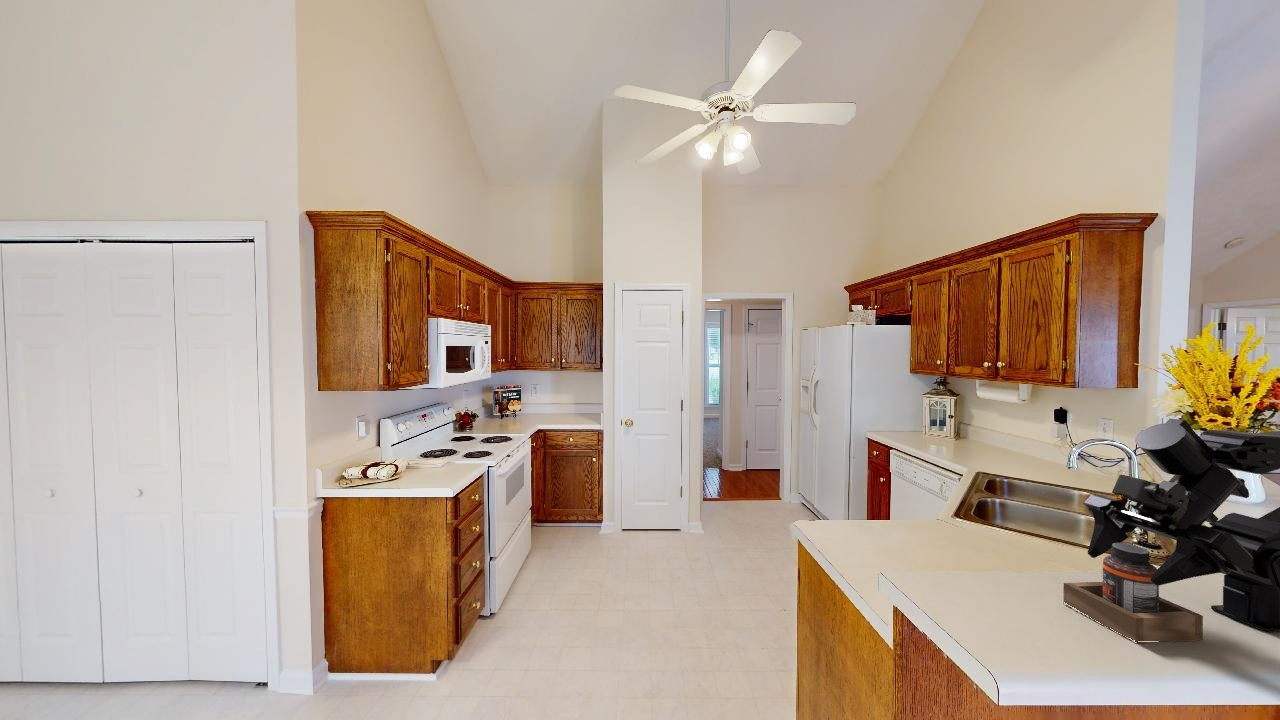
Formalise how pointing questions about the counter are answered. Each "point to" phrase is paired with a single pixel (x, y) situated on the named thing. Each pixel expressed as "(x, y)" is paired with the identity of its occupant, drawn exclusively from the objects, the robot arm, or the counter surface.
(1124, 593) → the supplement bottle
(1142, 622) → the socket collar
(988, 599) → the counter surface
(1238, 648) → the counter surface
